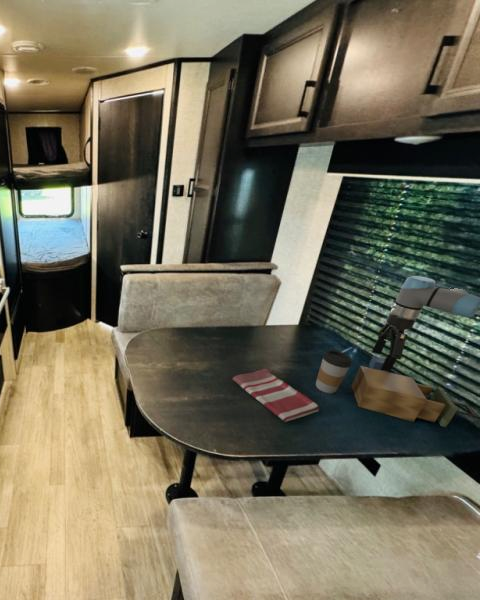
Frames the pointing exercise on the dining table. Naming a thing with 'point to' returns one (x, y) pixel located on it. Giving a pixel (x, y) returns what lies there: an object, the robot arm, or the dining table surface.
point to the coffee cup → (332, 371)
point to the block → (376, 363)
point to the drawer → (440, 406)
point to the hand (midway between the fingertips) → (380, 361)
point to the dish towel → (276, 395)
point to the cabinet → (388, 393)
